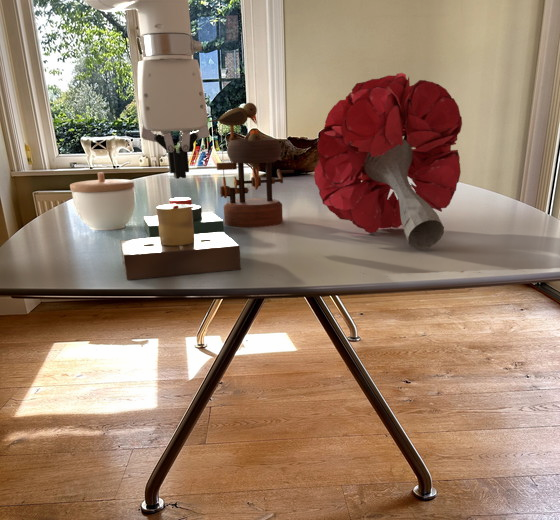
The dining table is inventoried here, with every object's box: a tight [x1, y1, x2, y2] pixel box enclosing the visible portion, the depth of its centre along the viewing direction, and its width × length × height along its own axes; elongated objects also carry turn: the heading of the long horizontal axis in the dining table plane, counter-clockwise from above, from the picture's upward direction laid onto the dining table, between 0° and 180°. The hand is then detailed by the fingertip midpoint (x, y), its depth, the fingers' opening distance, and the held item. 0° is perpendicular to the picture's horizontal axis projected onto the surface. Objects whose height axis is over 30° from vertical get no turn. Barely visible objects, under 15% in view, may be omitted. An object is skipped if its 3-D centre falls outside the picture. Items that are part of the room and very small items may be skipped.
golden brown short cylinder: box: [156, 203, 195, 246], centre depth 75 cm, size 4×4×5 cm
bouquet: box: [313, 72, 463, 250], centre depth 89 cm, size 22×24×30 cm
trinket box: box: [69, 171, 136, 232], centre depth 104 cm, size 11×11×9 cm
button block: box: [142, 204, 225, 238], centre depth 100 cm, size 12×10×4 cm
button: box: [169, 197, 193, 205], centre depth 99 cm, size 4×4×2 cm
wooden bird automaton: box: [208, 102, 295, 228], centre depth 104 cm, size 15×11×20 cm
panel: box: [119, 231, 242, 281], centre depth 77 cm, size 14×10×3 cm
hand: (180, 177), depth 97 cm, fingers closed
